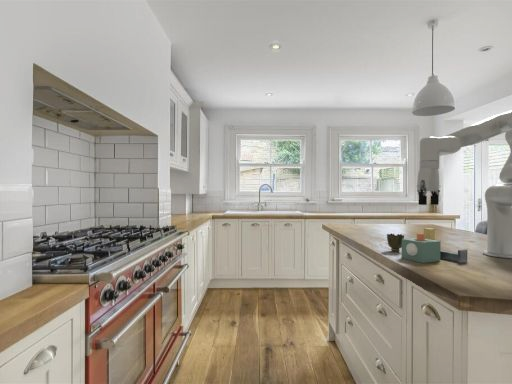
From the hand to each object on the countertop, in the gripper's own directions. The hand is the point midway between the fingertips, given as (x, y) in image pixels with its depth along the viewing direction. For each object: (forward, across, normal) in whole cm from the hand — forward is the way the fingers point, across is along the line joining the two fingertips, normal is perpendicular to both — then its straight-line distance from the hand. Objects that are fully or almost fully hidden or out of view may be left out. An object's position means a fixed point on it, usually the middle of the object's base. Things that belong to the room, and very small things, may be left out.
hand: (428, 204), depth 131 cm
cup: (+23, +4, -13) cm, 26 cm away
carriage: (+22, -1, 0) cm, 22 cm away
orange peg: (+19, +10, +2) cm, 22 cm away
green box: (+22, +10, +2) cm, 25 cm away
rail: (+22, 0, +5) cm, 23 cm away
